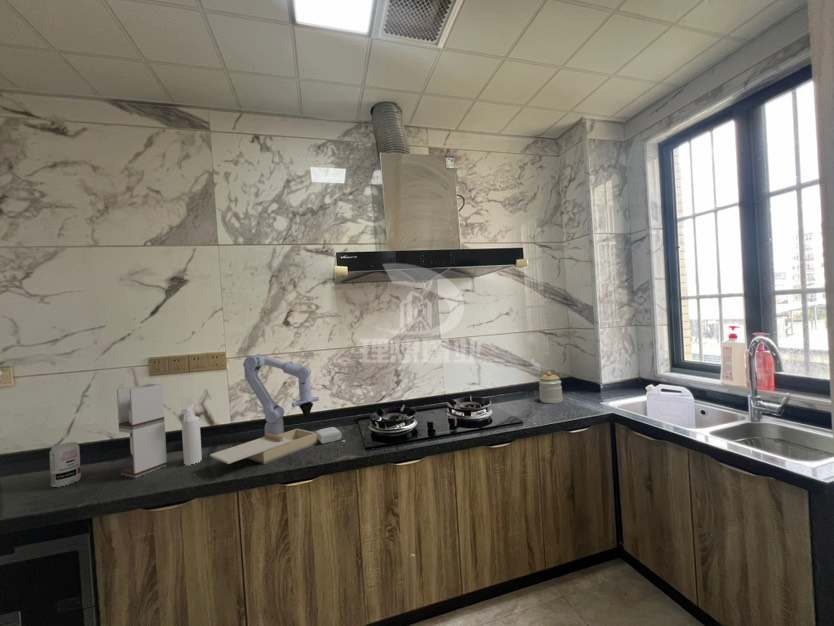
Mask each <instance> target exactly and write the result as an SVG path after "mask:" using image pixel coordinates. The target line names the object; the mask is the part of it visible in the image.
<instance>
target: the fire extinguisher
mask: <svg viewBox="0 0 834 626" xmlns="http://www.w3.org/2000/svg"><path fill="white" fill-rule="evenodd" d="M194 408H195V407H194V404H193V403H189V404H186V405H185V407H183V408H182V409H181V413H184V415H183V419H182V421H181V433H182V434H181V436H182V437H181V438H182V450H183V451H182V454H183V465H184V464H185V465H184V466H192V465H191V464H194V465H196V464H195V463H197V464H199V463H201V462H202V461H203V458H202V456H203V453H202V440H201V439H202V436H201V422H200V418H199V416H196V411H195V410H194ZM201 460H202V461H201ZM200 461H201V462H200ZM198 462H199V463H198Z"/></svg>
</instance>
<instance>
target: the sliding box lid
mask: <svg viewBox="0 0 834 626" xmlns="http://www.w3.org/2000/svg"><path fill="white" fill-rule="evenodd" d="M288 442H290V440H288V439H285V438H283V437H282V436H278V435H274V434H270V433H266V434H265V433H264V436H262V437H259V438H256V439H253V440H250V441H247V442H245V443H241V444H238V445H235V446H232V447H229V448H228V447H227V448H226V449H223V450H220V451H217V452H213V453H210V454H209V457H210V458H213V459H215V460H218V461H220V462H223V463H225V464H226V465H229V464H232V463H235V462H237V461H240V460H243V459H247V458H246V457H249V456H252V455H255V454H258V453H260V452H263V451H266V450H269V449H272V448H274V447H277V446H280V445H283V444H285V443H288Z"/></svg>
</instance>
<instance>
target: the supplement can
mask: <svg viewBox="0 0 834 626" xmlns="http://www.w3.org/2000/svg"><path fill="white" fill-rule="evenodd" d="M48 453H49V470H50V486H51V487H52V488H54V487H58V488H62V487H61V486H64V487H66V486H65V485H68V486H70V485H69V484H71V483H73V484H75V483H74V482H76V481H77V482H79V480H80V479H81V477H82V476H81V475H82V474H81V454H80V453H81V452H80V445H79V444H78V442H76V441H75V442H73V441H70V442H66V443H62V444H58V445H55V446H52V447H51V450H50V451H49V452H48ZM77 482H76V483H77ZM71 485H72V484H71Z"/></svg>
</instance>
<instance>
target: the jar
mask: <svg viewBox="0 0 834 626" xmlns="http://www.w3.org/2000/svg"><path fill="white" fill-rule="evenodd" d="M539 379H540V380H538V383H539V387H538V390H539V401H540V402H541V403H544V404H560V403H562V402H563V401H564V398H563V389H562V388H563V387H562V380H561V379H560V377H559V376H558V375H557V374H552V372H551V371H548V372H546V374H543V375H541V376H540V377H539Z"/></svg>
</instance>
